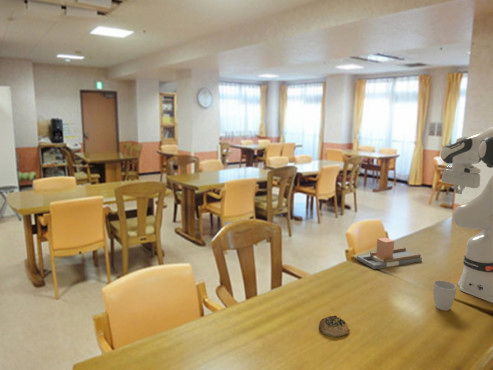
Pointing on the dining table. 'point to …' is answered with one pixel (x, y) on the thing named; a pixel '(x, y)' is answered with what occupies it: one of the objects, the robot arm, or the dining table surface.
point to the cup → (444, 294)
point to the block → (384, 248)
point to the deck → (390, 259)
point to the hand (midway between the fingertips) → (458, 193)
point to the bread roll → (333, 326)
